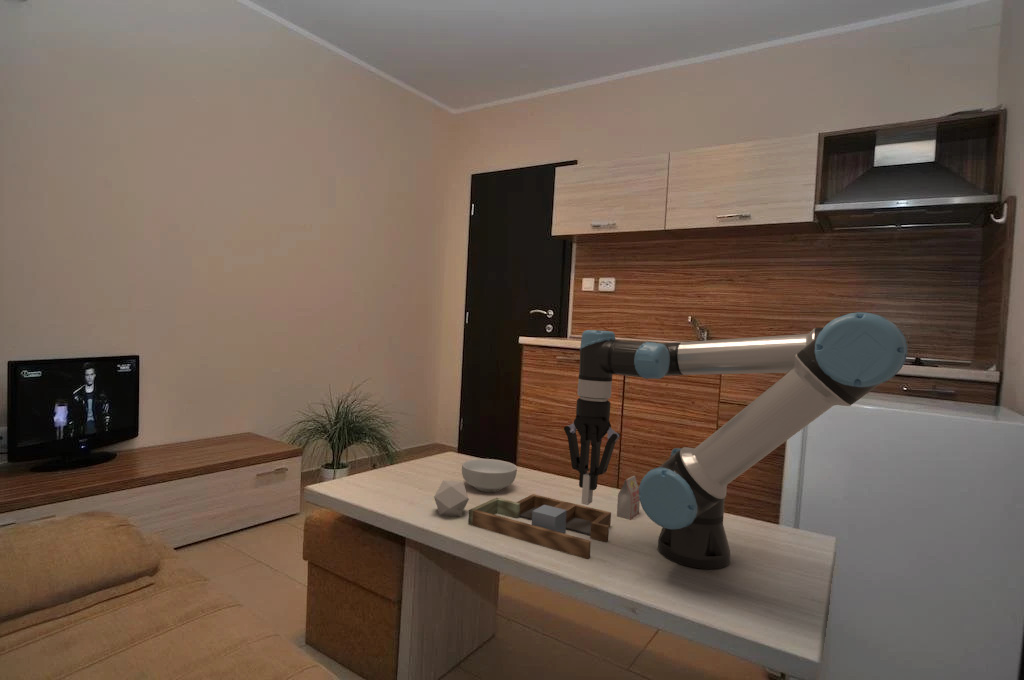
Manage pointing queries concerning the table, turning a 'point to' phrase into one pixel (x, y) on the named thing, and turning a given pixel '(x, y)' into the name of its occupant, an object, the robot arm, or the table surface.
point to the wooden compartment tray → (576, 520)
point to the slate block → (550, 518)
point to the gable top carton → (628, 499)
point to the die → (451, 498)
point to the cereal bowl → (488, 474)
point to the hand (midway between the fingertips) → (586, 502)
